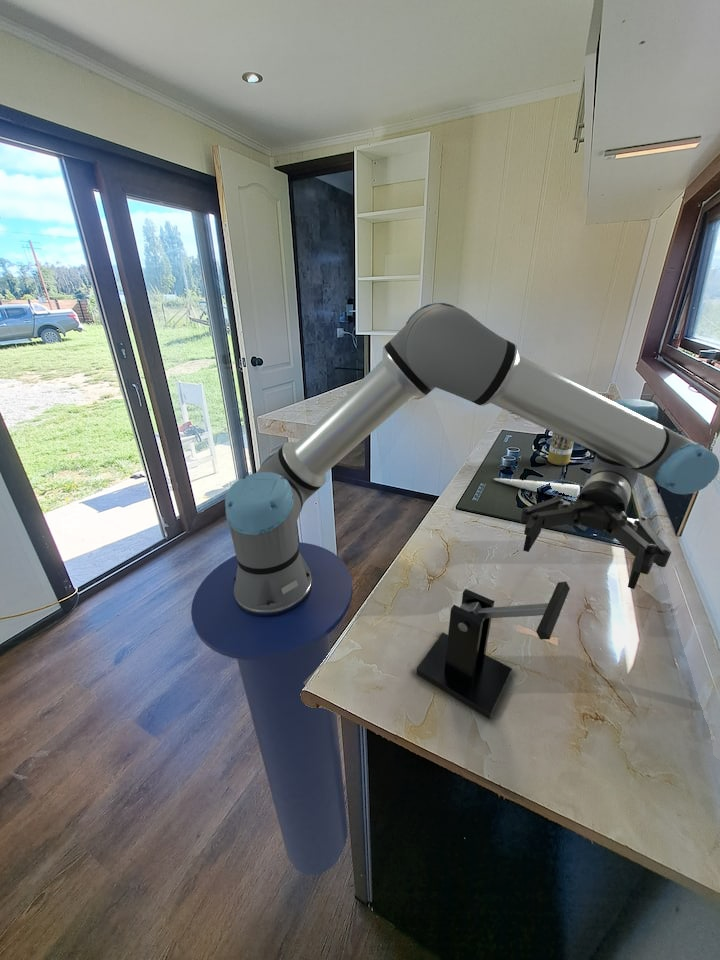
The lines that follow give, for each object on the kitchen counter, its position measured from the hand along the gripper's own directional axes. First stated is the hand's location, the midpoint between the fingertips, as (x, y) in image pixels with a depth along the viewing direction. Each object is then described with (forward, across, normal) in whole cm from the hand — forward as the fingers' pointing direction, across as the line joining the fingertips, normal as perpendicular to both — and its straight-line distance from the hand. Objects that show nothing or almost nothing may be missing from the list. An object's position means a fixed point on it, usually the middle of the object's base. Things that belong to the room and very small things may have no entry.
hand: (576, 561), depth 54 cm
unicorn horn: (-57, +18, -20) cm, 63 cm away
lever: (+11, +5, -5) cm, 13 cm away
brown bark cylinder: (-83, +18, -20) cm, 87 cm away
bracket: (+11, +10, -20) cm, 25 cm away
